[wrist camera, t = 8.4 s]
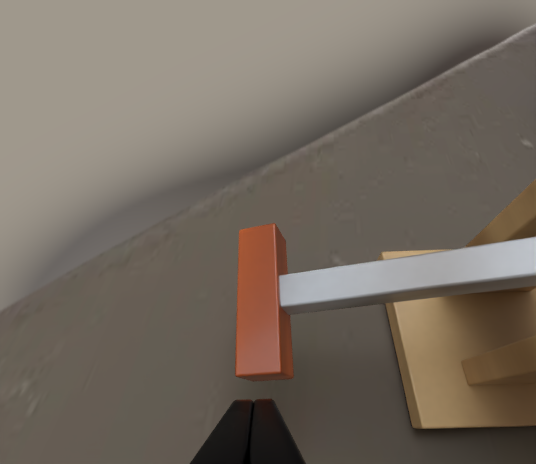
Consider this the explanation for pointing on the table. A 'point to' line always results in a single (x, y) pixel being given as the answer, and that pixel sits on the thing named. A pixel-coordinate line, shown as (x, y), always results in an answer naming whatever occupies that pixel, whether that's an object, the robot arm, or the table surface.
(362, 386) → the table surface
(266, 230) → the lever
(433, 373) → the bracket
